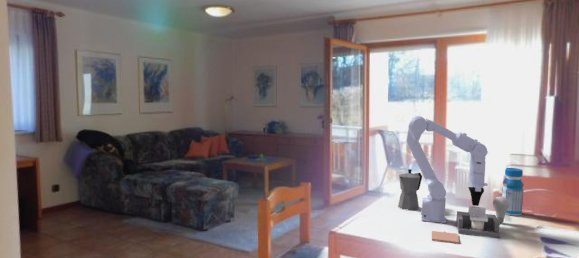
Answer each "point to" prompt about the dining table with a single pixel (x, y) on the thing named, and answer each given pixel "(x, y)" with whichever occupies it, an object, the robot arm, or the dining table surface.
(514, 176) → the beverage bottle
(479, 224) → the plug
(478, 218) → the clip
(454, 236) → the mat
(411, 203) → the coffeepot
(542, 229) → the dining table surface
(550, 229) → the dining table surface
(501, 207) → the lightbulb
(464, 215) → the socket block
